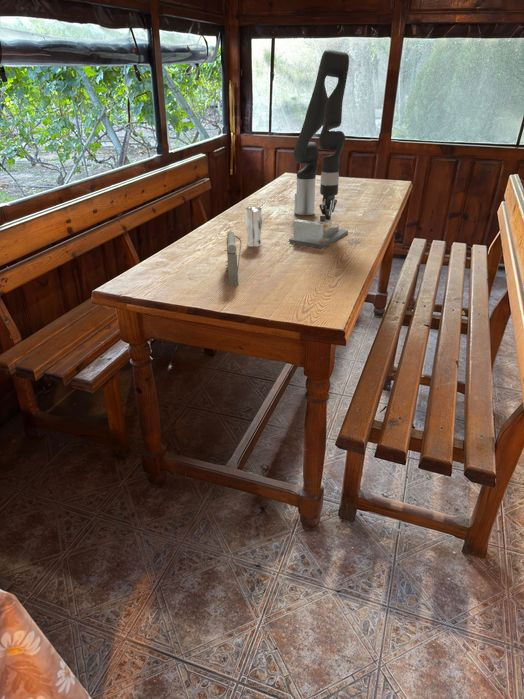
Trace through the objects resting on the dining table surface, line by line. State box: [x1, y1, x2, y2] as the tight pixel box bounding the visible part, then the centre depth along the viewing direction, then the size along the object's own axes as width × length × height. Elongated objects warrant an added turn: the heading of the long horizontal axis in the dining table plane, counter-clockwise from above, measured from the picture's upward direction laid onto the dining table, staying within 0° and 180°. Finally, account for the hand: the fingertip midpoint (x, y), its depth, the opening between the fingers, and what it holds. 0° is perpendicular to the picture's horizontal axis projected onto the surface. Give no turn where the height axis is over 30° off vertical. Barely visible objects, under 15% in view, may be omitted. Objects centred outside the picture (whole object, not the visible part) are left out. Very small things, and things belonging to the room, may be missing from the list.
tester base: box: [288, 225, 349, 249], centre depth 212 cm, size 16×24×4 cm, turn 148°
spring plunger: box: [313, 215, 333, 233], centre depth 212 cm, size 6×6×7 cm
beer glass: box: [244, 206, 263, 248], centre depth 202 cm, size 7×7×15 cm
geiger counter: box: [223, 230, 242, 286], centre depth 171 cm, size 14×6×25 cm
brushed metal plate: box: [292, 219, 323, 244], centre depth 202 cm, size 12×3×8 cm, turn 58°
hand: (327, 223), depth 216 cm, fingers closed
